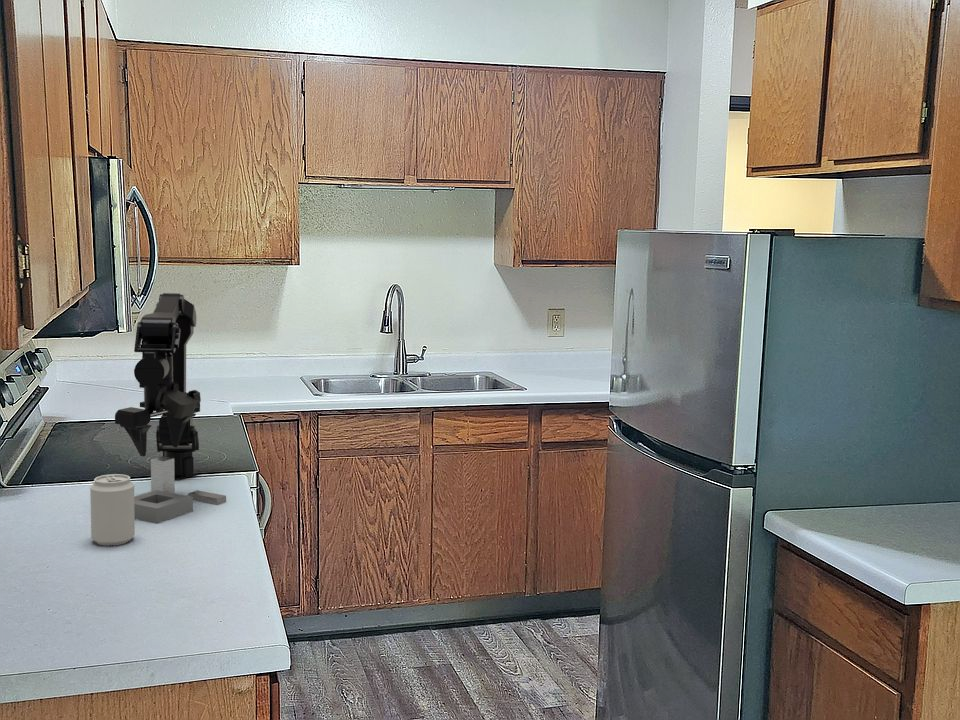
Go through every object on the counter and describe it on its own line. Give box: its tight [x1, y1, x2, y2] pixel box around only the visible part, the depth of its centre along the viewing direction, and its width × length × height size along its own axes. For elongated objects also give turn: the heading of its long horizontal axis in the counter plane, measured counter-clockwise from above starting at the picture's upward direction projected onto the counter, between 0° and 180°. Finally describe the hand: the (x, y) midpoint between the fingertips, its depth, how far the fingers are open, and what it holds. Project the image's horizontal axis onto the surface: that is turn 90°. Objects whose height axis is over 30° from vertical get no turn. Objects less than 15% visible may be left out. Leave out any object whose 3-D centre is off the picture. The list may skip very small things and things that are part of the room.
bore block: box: [134, 490, 194, 524], centre depth 195 cm, size 10×10×3 cm
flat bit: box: [187, 489, 227, 506], centre depth 205 cm, size 8×3×2 cm, turn 64°
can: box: [89, 473, 136, 547], centre depth 177 cm, size 8×8×12 cm
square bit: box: [150, 455, 176, 494], centre depth 208 cm, size 3×3×8 cm
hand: (159, 451), depth 200 cm, fingers open, 9 cm apart
